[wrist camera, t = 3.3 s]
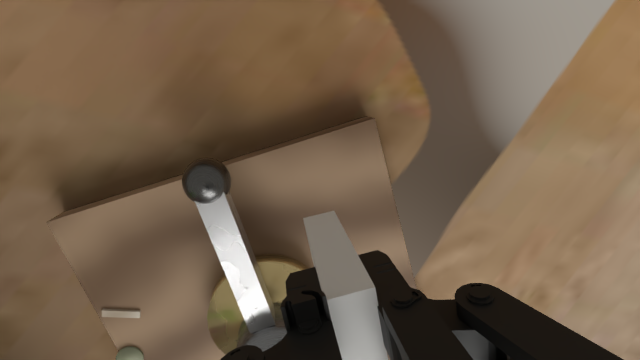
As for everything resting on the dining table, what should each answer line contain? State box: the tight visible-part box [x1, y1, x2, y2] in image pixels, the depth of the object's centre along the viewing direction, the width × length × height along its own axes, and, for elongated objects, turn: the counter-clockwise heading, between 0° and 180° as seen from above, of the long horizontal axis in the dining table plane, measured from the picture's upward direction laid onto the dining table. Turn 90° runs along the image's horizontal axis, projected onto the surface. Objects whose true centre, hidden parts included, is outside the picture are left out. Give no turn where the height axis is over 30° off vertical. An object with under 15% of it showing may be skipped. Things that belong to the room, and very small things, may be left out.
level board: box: [46, 116, 416, 360], centre depth 27 cm, size 24×22×2 cm
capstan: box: [182, 158, 308, 354], centre depth 21 cm, size 16×8×6 cm, turn 16°
